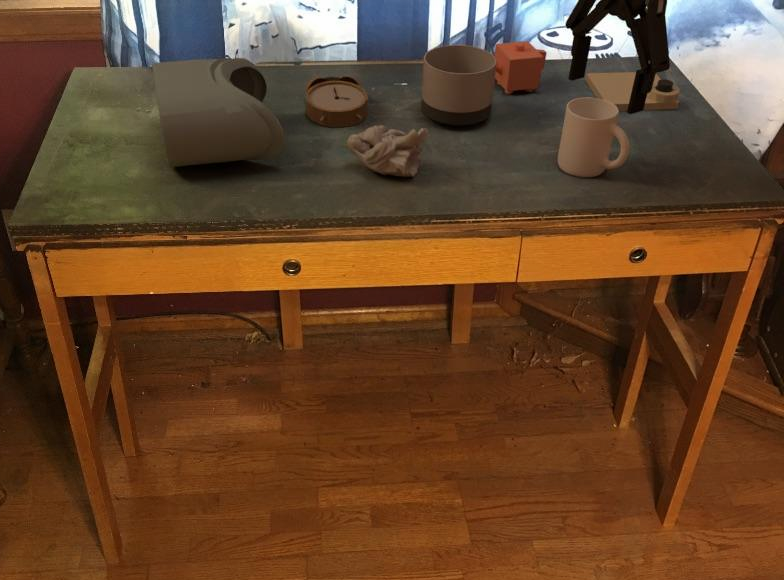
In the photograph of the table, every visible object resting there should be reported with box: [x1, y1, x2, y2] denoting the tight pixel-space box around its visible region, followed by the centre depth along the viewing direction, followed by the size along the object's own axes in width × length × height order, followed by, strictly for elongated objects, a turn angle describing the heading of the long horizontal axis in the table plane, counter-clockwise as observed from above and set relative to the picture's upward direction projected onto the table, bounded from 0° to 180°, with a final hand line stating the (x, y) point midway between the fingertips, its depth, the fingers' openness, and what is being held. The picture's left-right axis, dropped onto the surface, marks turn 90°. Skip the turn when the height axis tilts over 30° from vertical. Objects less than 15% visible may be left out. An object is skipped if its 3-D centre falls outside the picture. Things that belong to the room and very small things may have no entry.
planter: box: [420, 44, 497, 127], centre depth 154 cm, size 13×13×10 cm
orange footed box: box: [493, 40, 547, 94], centre depth 165 cm, size 8×12×8 cm, turn 105°
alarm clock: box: [305, 75, 368, 128], centre depth 158 cm, size 11×5×15 cm
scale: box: [584, 71, 681, 112], centre depth 165 cm, size 14×14×3 cm
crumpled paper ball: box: [346, 124, 429, 178], centre depth 140 cm, size 8×10×12 cm
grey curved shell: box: [151, 57, 286, 168], centre depth 143 cm, size 22×19×13 cm
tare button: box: [656, 79, 674, 93], centre depth 161 cm, size 3×3×2 cm
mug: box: [557, 96, 630, 178], centre depth 140 cm, size 12×8×10 cm
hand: (604, 94), depth 135 cm, fingers open, 13 cm apart
